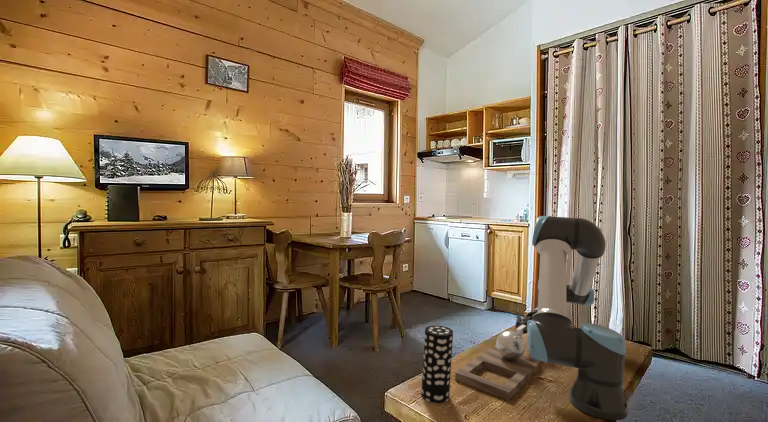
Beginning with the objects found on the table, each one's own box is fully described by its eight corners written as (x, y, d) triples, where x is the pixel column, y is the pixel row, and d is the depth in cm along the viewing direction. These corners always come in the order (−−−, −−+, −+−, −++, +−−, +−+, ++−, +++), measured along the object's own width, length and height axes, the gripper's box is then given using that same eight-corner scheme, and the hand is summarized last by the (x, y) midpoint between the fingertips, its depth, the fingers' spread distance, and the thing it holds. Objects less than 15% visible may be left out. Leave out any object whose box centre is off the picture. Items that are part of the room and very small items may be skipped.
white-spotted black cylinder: (430, 385, 120) (434, 323, 119) (454, 395, 115) (458, 330, 114) (415, 395, 114) (419, 330, 113) (439, 406, 109) (444, 337, 108)
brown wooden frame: (492, 352, 148) (492, 346, 148) (540, 368, 137) (540, 361, 137) (455, 379, 125) (455, 372, 125) (508, 400, 114) (509, 392, 114)
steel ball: (529, 364, 133) (531, 336, 133) (502, 364, 132) (504, 336, 132) (516, 352, 143) (518, 326, 143) (491, 352, 142) (492, 326, 142)
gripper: (553, 331, 157) (535, 347, 139) (521, 322, 166) (500, 337, 147) (554, 313, 157) (536, 327, 139) (523, 306, 165) (501, 318, 147)
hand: (518, 332), depth 143 cm, fingers closed
